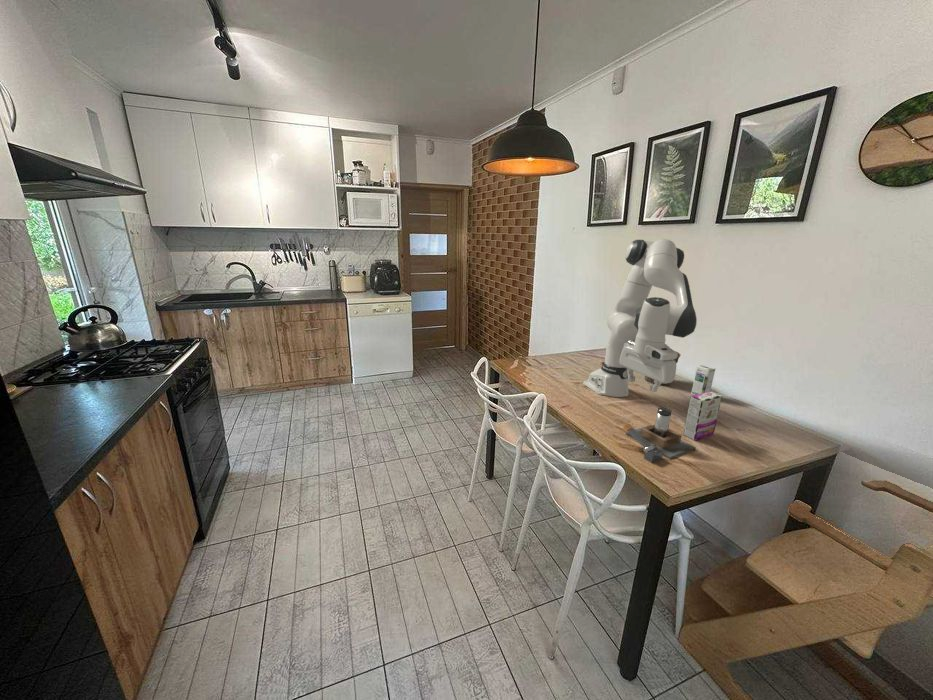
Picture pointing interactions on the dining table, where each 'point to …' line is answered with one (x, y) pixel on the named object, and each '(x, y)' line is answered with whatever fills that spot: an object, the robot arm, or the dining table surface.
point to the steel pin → (662, 421)
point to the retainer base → (652, 453)
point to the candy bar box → (702, 415)
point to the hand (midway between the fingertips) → (641, 386)
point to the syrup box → (703, 379)
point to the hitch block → (665, 441)
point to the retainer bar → (636, 435)
